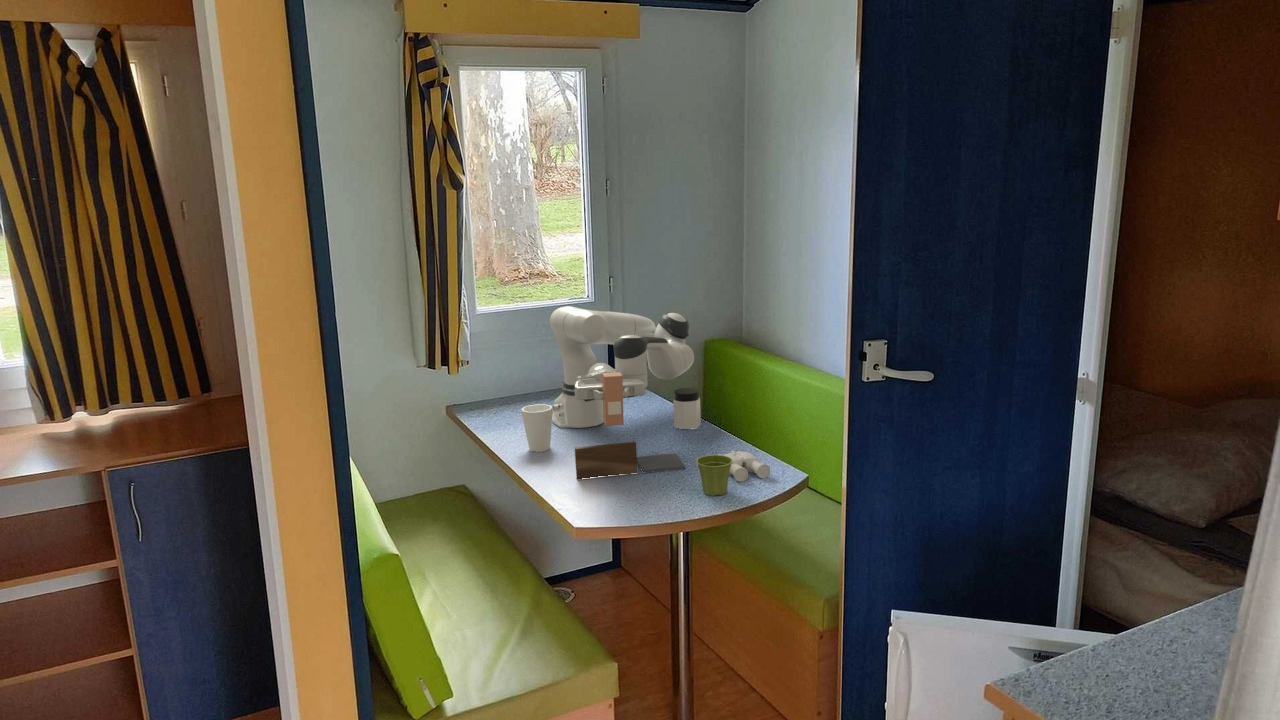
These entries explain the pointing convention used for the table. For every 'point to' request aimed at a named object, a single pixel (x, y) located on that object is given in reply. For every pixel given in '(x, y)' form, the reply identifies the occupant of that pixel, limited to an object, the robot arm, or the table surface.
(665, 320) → the robot arm
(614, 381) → the marked block
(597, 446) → the low board
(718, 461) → the plant pot
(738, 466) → the binoculars
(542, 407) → the foam cup
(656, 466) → the slate pad
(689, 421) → the jar
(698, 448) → the table surface
